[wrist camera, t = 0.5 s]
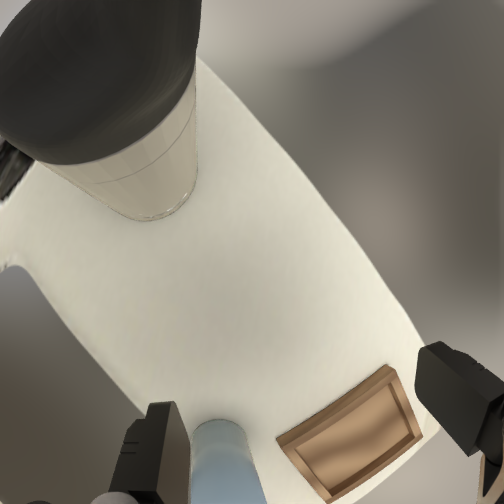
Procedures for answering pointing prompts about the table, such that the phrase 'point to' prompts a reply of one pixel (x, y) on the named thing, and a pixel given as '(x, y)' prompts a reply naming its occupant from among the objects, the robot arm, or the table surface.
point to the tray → (354, 436)
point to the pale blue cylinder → (223, 466)
